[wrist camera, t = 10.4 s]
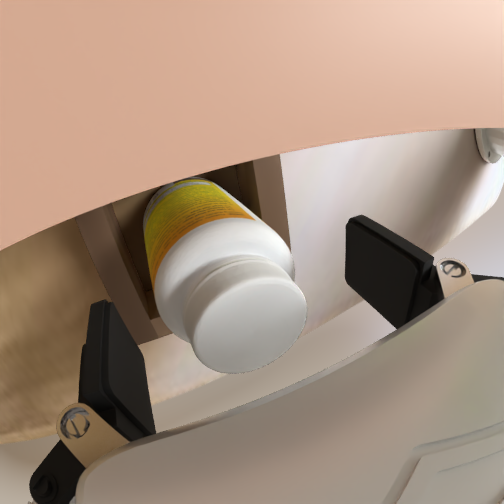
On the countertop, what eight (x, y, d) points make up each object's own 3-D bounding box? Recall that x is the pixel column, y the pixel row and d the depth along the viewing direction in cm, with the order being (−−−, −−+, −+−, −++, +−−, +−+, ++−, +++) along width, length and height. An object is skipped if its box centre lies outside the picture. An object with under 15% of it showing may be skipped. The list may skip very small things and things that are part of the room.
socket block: (241, 60, 14) (263, 50, 12) (274, 265, 21) (294, 286, 19) (58, 108, 11) (42, 106, 9) (133, 315, 18) (137, 345, 16)
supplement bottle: (124, 234, 16) (131, 366, 8) (179, 156, 15) (245, 212, 7) (197, 275, 19) (259, 398, 11) (248, 207, 18) (354, 295, 10)
